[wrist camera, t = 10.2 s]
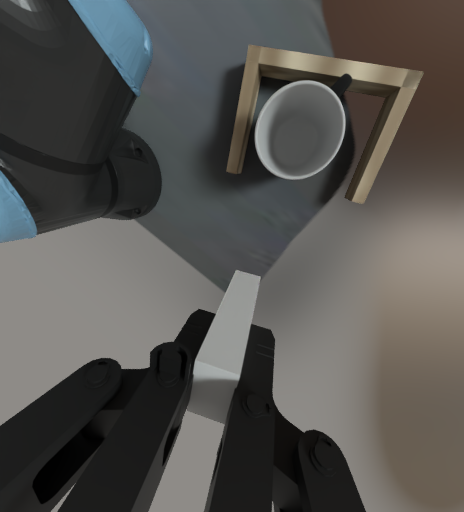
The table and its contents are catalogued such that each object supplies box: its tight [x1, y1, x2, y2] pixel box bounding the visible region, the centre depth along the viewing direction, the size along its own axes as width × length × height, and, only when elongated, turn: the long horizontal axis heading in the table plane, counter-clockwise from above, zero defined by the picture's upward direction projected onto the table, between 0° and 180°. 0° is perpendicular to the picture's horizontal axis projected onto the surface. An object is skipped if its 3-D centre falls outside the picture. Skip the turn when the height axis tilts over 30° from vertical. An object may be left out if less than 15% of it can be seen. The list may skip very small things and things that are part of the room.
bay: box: [226, 45, 424, 204], centre depth 28 cm, size 19×14×4 cm
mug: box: [254, 73, 352, 180], centre depth 26 cm, size 12×9×10 cm
